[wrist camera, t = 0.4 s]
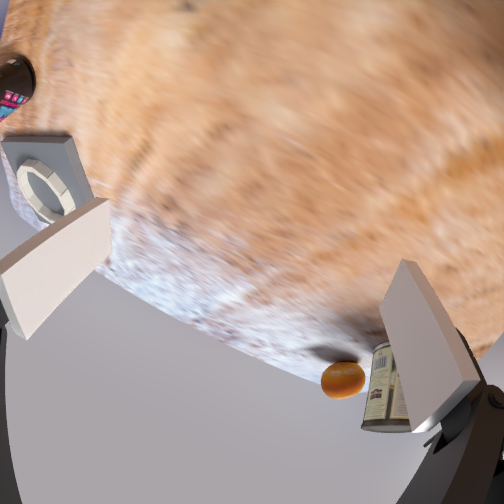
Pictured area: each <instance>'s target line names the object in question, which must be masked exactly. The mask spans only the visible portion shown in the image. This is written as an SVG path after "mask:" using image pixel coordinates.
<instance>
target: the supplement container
mask: <svg viewBox="0 0 504 504" xmlns="http://www.w3.org/2000/svg"><path fill="white" fill-rule="evenodd" d="M35 88H36V78H35V73H34V70H33V67H32V65H31V64H30V62H29V61H28V60H27V59H25V58H23V57H14V58H12V59H10V60H9V61H7V62H5V63H3V64H2V65H0V122H1V121H2V120H4V119H5V118H6V117H8V116H9V115H10V114H11V113H13V112H14V111H15V110H17V109H18V108H20V107H21V106H22V105H24V104H25V103H27V102H28V101H29V100H30V99H31V98H32V96H33V94H34V91H35Z"/></svg>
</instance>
